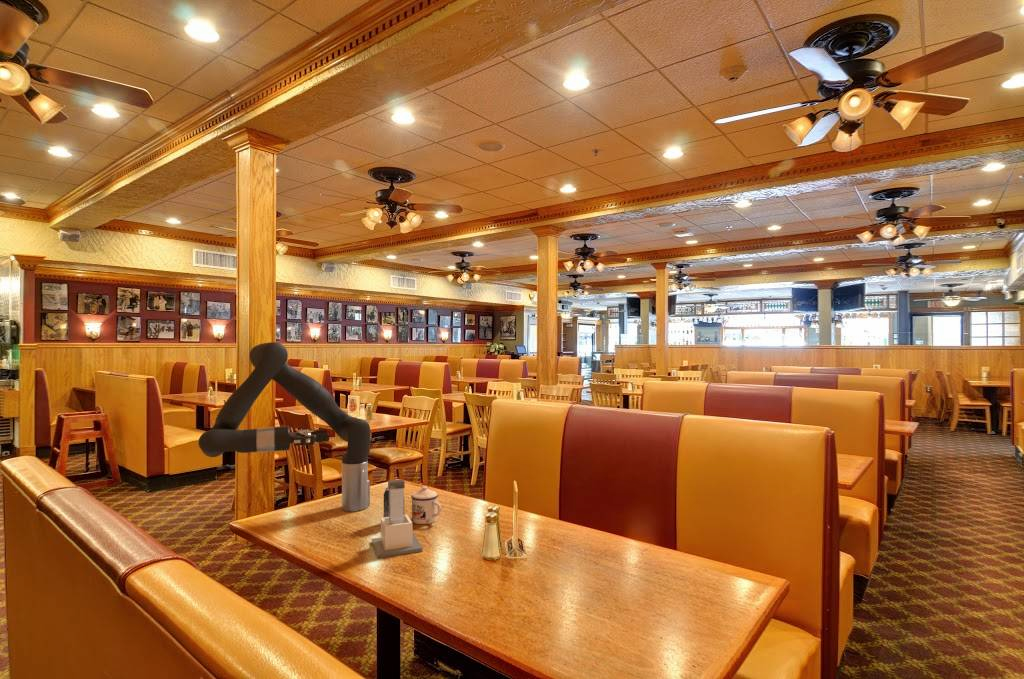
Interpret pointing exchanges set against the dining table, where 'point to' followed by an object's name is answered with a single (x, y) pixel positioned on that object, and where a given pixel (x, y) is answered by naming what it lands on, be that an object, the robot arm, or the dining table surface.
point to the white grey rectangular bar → (396, 501)
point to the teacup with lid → (425, 506)
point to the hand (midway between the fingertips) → (328, 435)
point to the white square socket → (396, 539)
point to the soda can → (386, 502)
